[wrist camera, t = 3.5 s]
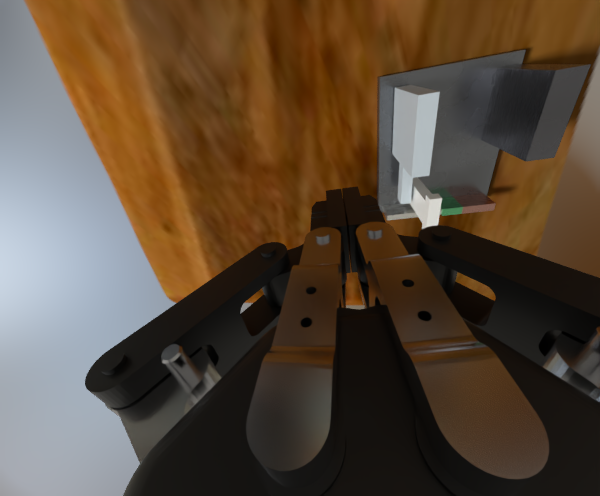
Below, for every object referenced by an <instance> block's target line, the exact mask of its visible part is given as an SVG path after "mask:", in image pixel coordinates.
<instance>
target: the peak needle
mask: <svg viewBox="0 0 600 496" xmlns="http://www.w3.org/2000/svg"><path fill="white" fill-rule="evenodd" d="M441 202H442V197H441V196H440V195H439V194H438V193H437V194H432V193H431V192H430V191H429V190H428V188H427V187H426V186H425V185H424V184H423V183H422V181H421V180H420V179H419V178H418V177H415V178H413V183H412V194H411V203H410V205H411V206H412V208H413V209H414V211H415V212H416V214H417V215H418V217H419V219H420V220H421V222H422V223H423V224H422V229H424V228H426V227H429V226H437V225H438V221H439V215H440V209H441Z"/></svg>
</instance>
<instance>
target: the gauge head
mask: <svg viewBox="0 0 600 496" xmlns="http://www.w3.org/2000/svg"><path fill="white" fill-rule="evenodd" d="M439 94H440V92H439V91H435V90H431V89H427V88H423V87H418V86H414V85H406V86H401V87H395V94H394V121H393V148H392V154H393V155H394V157H395V158H396V159H397V160H398V162H399V182H398V200H399V202H400V204H408V203H411V194H412V183H413V178H415V177H422V176H429V174H430V166H431V158H432V150H433V142H434V134H435V126H436V118H437V110H438V102H439Z"/></svg>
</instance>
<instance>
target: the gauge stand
mask: <svg viewBox="0 0 600 496" xmlns="http://www.w3.org/2000/svg"><path fill="white" fill-rule="evenodd" d="M525 51H526V50H516V51H511V52H506V53H500V54H495V55H490V56H485V57H479V58H474V59H469V60H464V61H458V62H453V63H448V64H443V65H437V66H432V67H427V68H422V69H416V70H411V71H406V72H401V73H396V74H390V75H385V76H380V77H378V115H377V203H378V206H379V208H380V210H381V212H384V214H385V217H386V219H387V220H395V219H404V218H413V217H418V215H417V214H416V212H415V211H414V209H413V208H412V206H411V205H410V203H408V204H400V202H399V200H398V182H399V162H398V160H397V159H396V158H395V157H394V155H393V154H392V148H393V121H394V94H395V87H401V86H406V85H414V86H418V87H423V88H427V89H431V90H435V91H439V92H440V94H439V102H438V110H437V118H436V126H435V134H434V142H433V150H432V158H431V166H430V174H429V176H422V177H418V178H419V179H420V180H421V181H422V183H423V184H424V185H425V186H426V187H427V188H428V190H429V191H430V192H431V193H432V194H437V193H438V194H439V195H440V196H441V197H442V202H441V209H440V214H441V215H442V216H445V215H454V214H463V213H472V212H481V211H490V210H494V208H495V204H496V203H495V202H493V201H492V200H491V199H490V198H488V197H487V193H488V189H489V185H490V182H491V178H492V174H493V170H494V167H495V163H496V159H497V156H498V152H499V149H501V150H503V151H505V152H507V153H509V154H511V155H514V156H516V157H518V158H520V159H522V160H524V161H532V160H539V159H547V158H554V157H555V154H556V152H557V149H558V147H559V144H560V142H561V139H562V137H563V134H564V132H565V129H566V126H567V124H568V121H569V119H570V116H571V114H572V111H573V109H574V106H575V104H576V101H577V99H578V96H579V93H580V91H581V88H582V86H583V83H584V81H585V78H586V76H587V73H588V71H589V68H590V65H591V64H522V62H523V58H524V55H525Z"/></svg>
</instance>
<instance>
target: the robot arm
mask: <svg viewBox="0 0 600 496" xmlns="http://www.w3.org/2000/svg"><path fill="white" fill-rule="evenodd" d="M342 192H343V198H342ZM326 198H327V201H320V202H316V203H315V204H314V206H313V207H312V215H311V230H310V232H309V233H308V234H307V235H306V237H305V241H304V244H303V245H301V246H299V247H296V248H293V249H290V250H287V248H286V246H285V245H284V244H282V243H278V242H271V243H266V244H263V245H261V246H259V247H257V248H256V249H255V250H253V251H252V252H250V253H249V254H247V255H246V256H244V257H243V258H241V259H240V260H239V261H237V262H236V263H234V264H233V265H231V266H230V267H228V268H227V269H226V270H224V271H223V272H221V273H220V274H218V275H217V276H215V277H214V278H213V279H211V280H210V281H208V282H207V283H205V284H204V285H202V286H201V287H200V288H198V289H197V290H195V291H194V292H192V293H191V294H189V295H188V296H187V297H185V298H184V299H182V300H181V301H179V302H178V303H176V304H175V305H174V306H172V307H171V308H169V309H168V310H166V311H165V312H163V313H162V314H161V315H159V316H158V317H156V318H155V319H153V320H152V321H151V322H149V323H148V324H146V325H145V326H143V327H142V328H140V329H139V330H137V331H136V332H134V333H133V334H132V335H130V336H129V337H127V338H126V339H124V340H123V341H122V342H120V343H119V344H117V345H116V346H114V347H113V348H111V349H110V350H109V351H107V352H106V353H104V354H103V355H102V356H101V357H100V358H99V359H98V360H97V361H96V362H95V363H94V364H93V366H92V367H91V369H90V370H89V372H88V374H87V376H86V380H85V385H86V388H87V389H88V390H89V391H90V392H91V393H93V394H94V395H96V397H98V398H99V399H100V400H102V401H103V402H104V403H105V405H106V406H107V408H109V409H110V410H111V411H113V412H114V413H115V414H117V415H118V416H119V417H120V418H121V420H122V423H123V425H124V427H125V430H126V432H127V434H128V437H129V439H130V441H131V444H132V446H133V448H134V450H135V453H136V455H137V457H138V460H139V462H140V465H139V467H138V468H137V470H136V471H135V473H134V475H133V477H132V478H131V480H130V482H129V484H128V486H127V488H126V490H125V493H124V495H123V496H600V278H598V277H595V276H592V275H589V274H586V273H583V272H581V271H578V270H574V269H572V268H569V267H566V266H563V265H560V264H557V263H554V262H551V261H548V260H546V259H543V258H540V257H537V256H534V255H531V254H528V253H525V252H522V251H519V250H516V249H514V248H511V247H508V246H505V245H502V244H499V243H496V242H493V241H490V240H487V239H484V238H481V237H479V236H476V235H473V234H470V233H467V232H464V231H461V230H458V229H455V228H452V227H448V226H440V225H437V226H429V227H426V228H424V229H422V230H421V231H420V232H419V236H418V237H410V236H402V235H398V234H397V233H396V232H395V230H394V228H393V227H392V226H391V225H389V224H387V223H386V222H385V220H384V217H383V215H382V212H381V210H380V208H379V206H378V203H377V200H376V199H375V198H373V197H372V196H370V195H366V196H360V193H359V190H358V187H350V188H343V189H342V191H341V189H336V190H328V191H326ZM349 255H350V260H349ZM350 262H351V268H352V272H358V282H359V289H360V292H361V296H362V300H363V303H364V307H365V309H361V310H356V309H349V308H346V283H345V282H346V280H347V275H346V273H350ZM457 272H459V273H461V274H463V275H465V276H468V277H470V278H472V279H474V280H476V281H478V282H481V283H483V284H485V285H487V286H488V287H490V288H491V289H492V290H493V292H494V293H495V296H496V300H495V301H493V300H491V299H489V298H487V297H485V296H483V295H481V294H479V293H477V292H475V291H473V290H471V289H469V288H467V287H465V286H463V285H461V284H459V283H457V282H455V280H456V276H457ZM261 288H262V289H263V292H264V295H263V296H261V297H260V298H259V299H258V300H257V301H256V302H254V303H253V304H252V305H251V306H250V307H248V308H247V309H246V310H245V311H244V312H242V313H241V314H240V310H241V307H242V305H243V303H244V302H245V301H246V300H248V299H249V298H250V297H251V296H252V295H254V294H255V293H256V292H257V291H259V290H260V289H261Z"/></svg>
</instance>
